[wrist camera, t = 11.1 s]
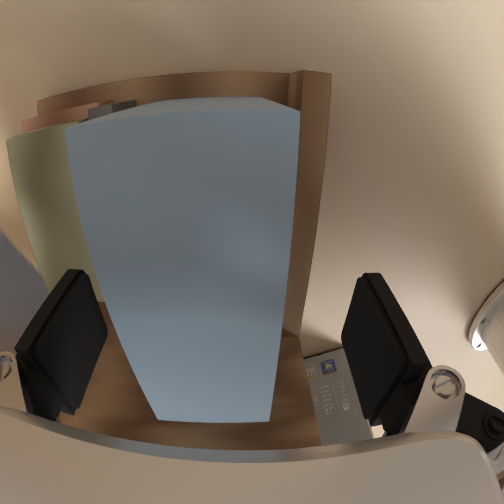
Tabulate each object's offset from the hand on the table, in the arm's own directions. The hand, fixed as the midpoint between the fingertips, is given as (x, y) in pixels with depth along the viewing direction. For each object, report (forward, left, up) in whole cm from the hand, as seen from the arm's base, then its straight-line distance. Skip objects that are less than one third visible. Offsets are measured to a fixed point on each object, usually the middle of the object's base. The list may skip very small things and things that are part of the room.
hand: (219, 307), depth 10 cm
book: (+1, 0, -9) cm, 8 cm away
